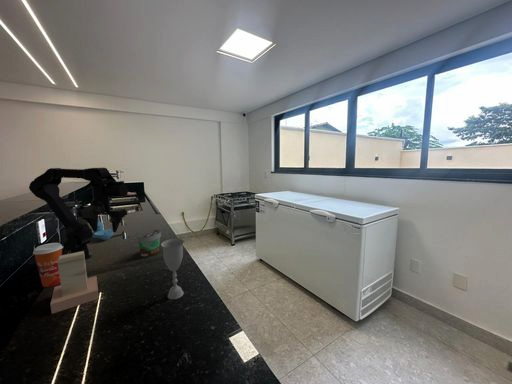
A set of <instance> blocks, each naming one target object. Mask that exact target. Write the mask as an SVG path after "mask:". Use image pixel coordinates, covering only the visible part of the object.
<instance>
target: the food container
mask: <svg viewBox="0 0 512 384" xmlns="http://www.w3.org/2000/svg"><path fill="white" fill-rule="evenodd" d="M161 237H162V233H161V231H160V230H159V229H154V231H152V232H150V233H148V234H145V235H144V236H143V237H137V243H138V245H139V251H140V252H139V253H140V257H141V259H143V258H144V259H145V258H151V257H154V256H155V257H156V256H157V255H159V253H160V252H159V251H160V247H161V246H160V245H161V244H160V242H161V239H160V238H161Z"/></svg>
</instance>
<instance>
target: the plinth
mask: <svg viewBox="0 0 512 384" xmlns="http://www.w3.org/2000/svg"><path fill="white" fill-rule="evenodd" d="M97 279H98V278H97V275H94V276H91V277H87V281H88V290H84V291H81V292H77V293H74V294H71V295H67V296H64V297H63V296H62V289H61V284H59V285H55V286H54V287H53V288H54V289H53V292H52V297H51V300H50V311H51V314H57V313H59V312H62V311H65V310H67V309H68V310H69V309H71V308H74V307H77V306H80V305H84V304H87V303H90V302H93V301H96V300H99V288H98V280H97Z"/></svg>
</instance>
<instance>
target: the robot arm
mask: <svg viewBox="0 0 512 384" xmlns="http://www.w3.org/2000/svg"><path fill="white" fill-rule="evenodd" d="M62 179H82V180H85V181H89V182H88V183H87V184H86V185H85V186H86V187H87V188H91V191H92V199H91V200H90V202H89V203H90V204H89V205H87V206H85V207H84V208H82V209H79V210H78V212H77V217H78V218H81V220H82V219H83V220H85V221H86V222H88V223H81V222H79V220H78V219H77V217H76V216H75V215H74V214H73V213H72V211H71V210H70V208H69V207H68V205H67V204H66V203H65V202H64V200H63V199H62V197H61V196H60V187H59V185H60V184H61V183H62ZM28 186H29V187H28V189H29V191H30V192H31V193H32V194H33V195H34V196H35V197H36V198H38V199H40V200H42V201H44V202H45V203H46V205H48V207H49V208H50V210H52V212H53V214H54V215H55V216H56V217H57V219H58V220H59V222H60V223H61V224H62V226H63V227H64V228H65V237H66V239H67V240H66V241H65V242H64V243H63V244H61V245H62V246H63V248H62V249H63V250H64V251H68V254H71V253H76V252H81V251H84V256H85V261H86V260H87V259H89V258H91V257H92V254H91V255H90V253H89V247H88V244H90V243H91V241H92V239H93V237H92V236H93V232H96V231H97V225H98V221H99V216H109V220H110V221H111V226H112V227H111V228H112V229H113V232H114V234H115V233H116V232H117V230H118V229H119V225H120V223H121V222H122V220H123V218H125V217H126V216H127V215H128V210H127V209H126V208H117V209H116V208H115V209H114V208H113V207H112V206H111V201H113V198H125V197H127V196H128V194H129V188H128V186H127V184H125V181H124V180H120V181H117V180H116V179H115V178H114V177H113V175H111V173H110V171H109V170H108V168H106V167H91V168H90V167H88V168H84V169H82V168H81V169H79V168H61V167H51V168H48V169H46V171H45V172H44V173H42V174H40V175H39V176H37V177H35V178H34V180H32V181H31V182H30V183H29V185H28Z"/></svg>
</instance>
